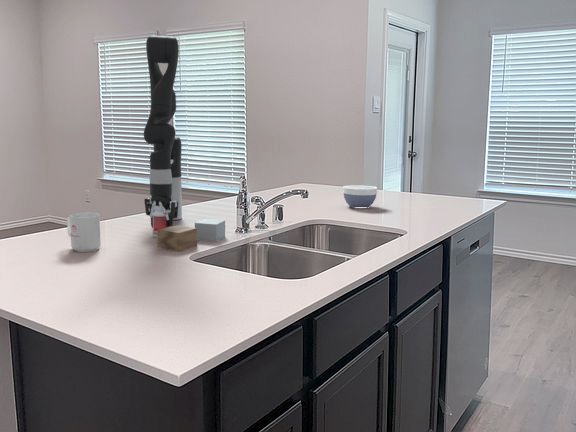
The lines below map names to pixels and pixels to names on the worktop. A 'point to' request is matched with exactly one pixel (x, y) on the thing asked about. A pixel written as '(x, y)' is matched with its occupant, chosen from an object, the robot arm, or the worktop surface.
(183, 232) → the walnut block
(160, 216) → the pill bottle
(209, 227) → the grey block
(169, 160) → the robot arm
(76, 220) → the mug
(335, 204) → the worktop surface
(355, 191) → the bowl
